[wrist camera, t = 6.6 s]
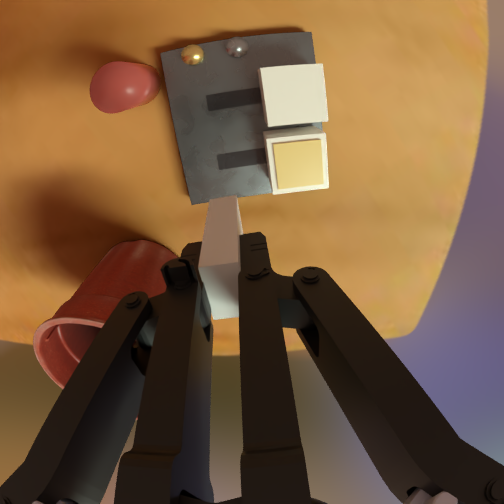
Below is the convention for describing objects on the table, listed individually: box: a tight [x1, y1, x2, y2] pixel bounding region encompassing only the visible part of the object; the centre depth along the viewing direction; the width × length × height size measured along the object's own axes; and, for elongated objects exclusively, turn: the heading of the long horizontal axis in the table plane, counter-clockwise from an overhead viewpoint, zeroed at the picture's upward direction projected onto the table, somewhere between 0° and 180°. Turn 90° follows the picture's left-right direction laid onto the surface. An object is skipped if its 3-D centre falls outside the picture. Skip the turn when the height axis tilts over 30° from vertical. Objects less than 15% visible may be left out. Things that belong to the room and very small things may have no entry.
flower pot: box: [33, 240, 178, 420], centre depth 31 cm, size 16×16×16 cm
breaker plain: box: [257, 64, 328, 127], centre depth 23 cm, size 5×5×4 cm
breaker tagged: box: [263, 126, 329, 195], centre depth 26 cm, size 5×5×4 cm
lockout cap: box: [90, 61, 161, 113], centre depth 22 cm, size 4×4×7 cm
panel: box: [160, 32, 322, 205], centre depth 27 cm, size 14×16×2 cm
